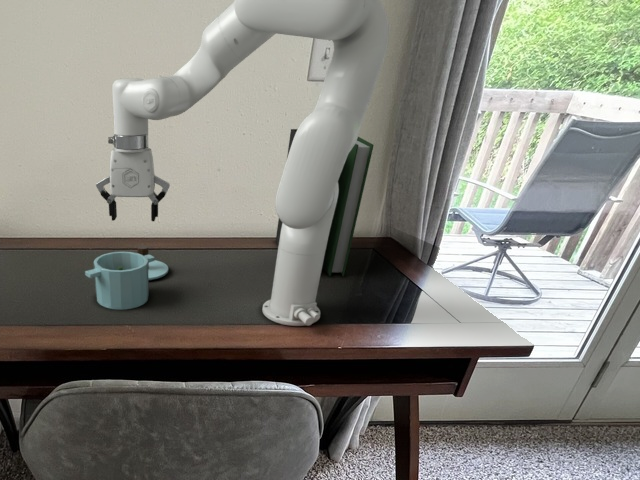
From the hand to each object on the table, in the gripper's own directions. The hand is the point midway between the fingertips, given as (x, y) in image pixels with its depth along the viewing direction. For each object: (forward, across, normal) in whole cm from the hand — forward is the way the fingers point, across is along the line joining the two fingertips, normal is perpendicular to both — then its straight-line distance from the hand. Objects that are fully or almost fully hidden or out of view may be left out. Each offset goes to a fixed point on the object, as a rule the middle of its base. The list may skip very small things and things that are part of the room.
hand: (133, 219), depth 115 cm
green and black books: (+17, +47, +22) cm, 54 cm away
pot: (+16, -2, -10) cm, 19 cm away
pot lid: (+16, +1, +7) cm, 17 cm away
